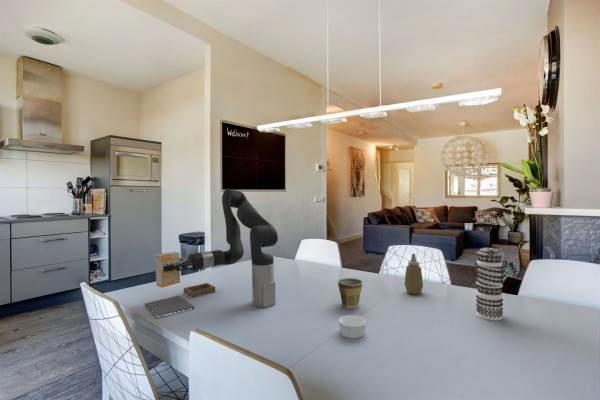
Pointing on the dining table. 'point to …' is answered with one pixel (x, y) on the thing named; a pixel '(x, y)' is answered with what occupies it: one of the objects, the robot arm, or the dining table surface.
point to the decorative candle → (489, 284)
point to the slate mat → (168, 305)
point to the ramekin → (352, 326)
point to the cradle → (199, 290)
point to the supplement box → (169, 276)
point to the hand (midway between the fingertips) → (161, 267)
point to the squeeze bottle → (413, 277)
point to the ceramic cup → (350, 292)
